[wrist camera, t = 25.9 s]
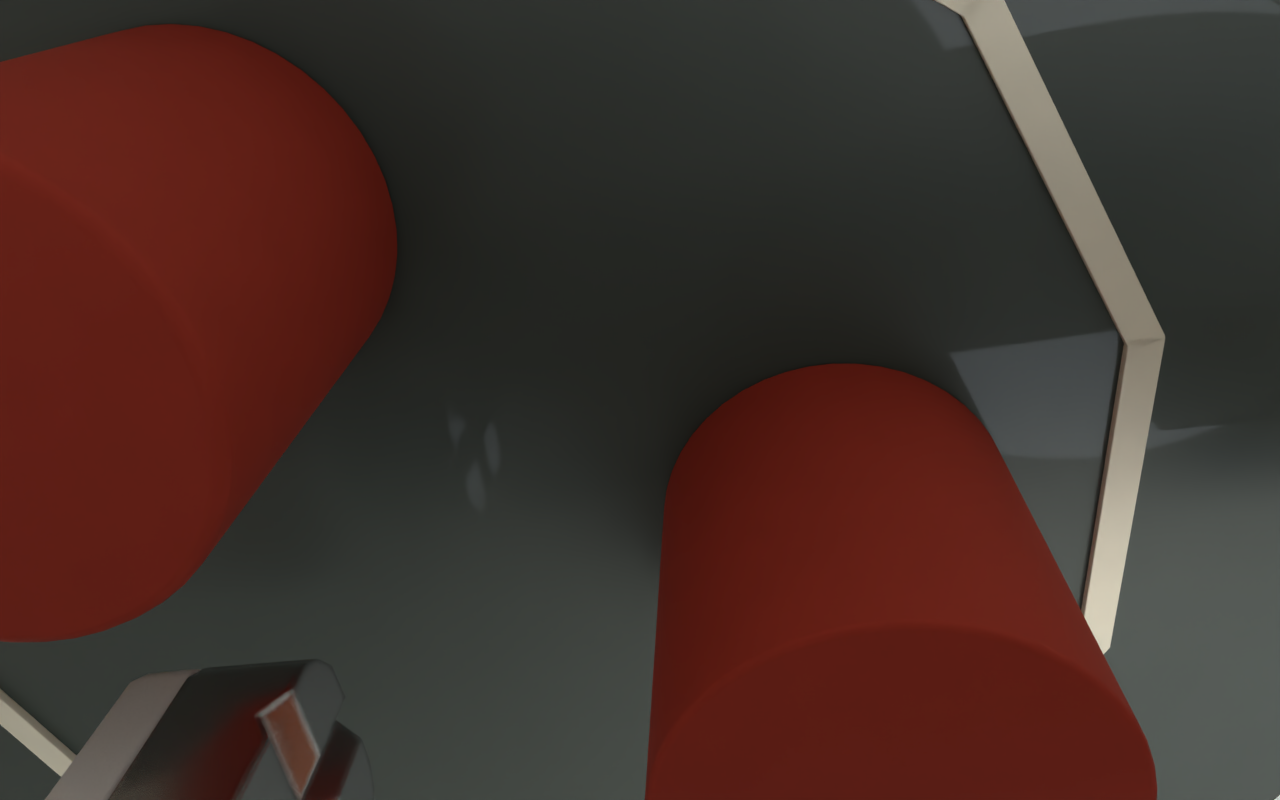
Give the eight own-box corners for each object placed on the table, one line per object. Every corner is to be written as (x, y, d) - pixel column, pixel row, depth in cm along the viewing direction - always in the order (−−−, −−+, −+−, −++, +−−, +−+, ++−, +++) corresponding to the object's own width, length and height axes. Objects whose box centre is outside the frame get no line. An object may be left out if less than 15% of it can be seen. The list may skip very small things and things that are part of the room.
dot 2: (893, 692, 11) (973, 1040, 8) (610, 575, 10) (566, 893, 7) (1080, 449, 9) (1274, 747, 6) (761, 302, 9) (793, 542, 6)
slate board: (866, 1080, 15) (878, 1163, 14) (-425, 593, 12) (-522, 655, 12) (1708, 280, 9) (1826, 326, 8) (-384, -983, 7) (-576, -1134, 6)
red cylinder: (314, 447, 10) (124, 725, 7) (-17, 279, 9) (-403, 493, 6) (464, 157, 8) (316, 329, 5) (87, -61, 8) (-336, -20, 5)
